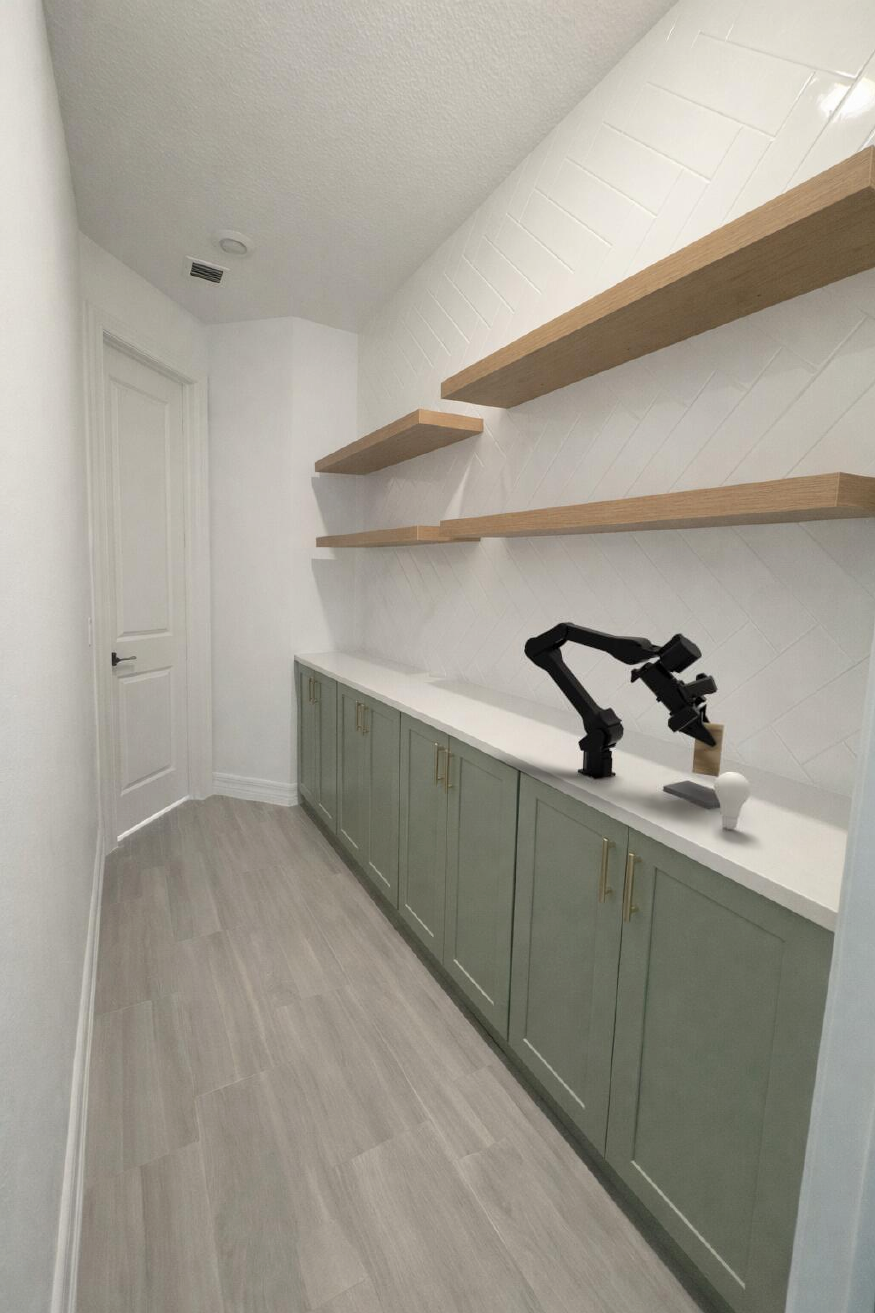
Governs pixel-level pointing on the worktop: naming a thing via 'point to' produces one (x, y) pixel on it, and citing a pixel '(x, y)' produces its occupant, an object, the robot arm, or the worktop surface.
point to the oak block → (708, 752)
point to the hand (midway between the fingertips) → (715, 742)
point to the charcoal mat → (694, 793)
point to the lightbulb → (731, 796)
